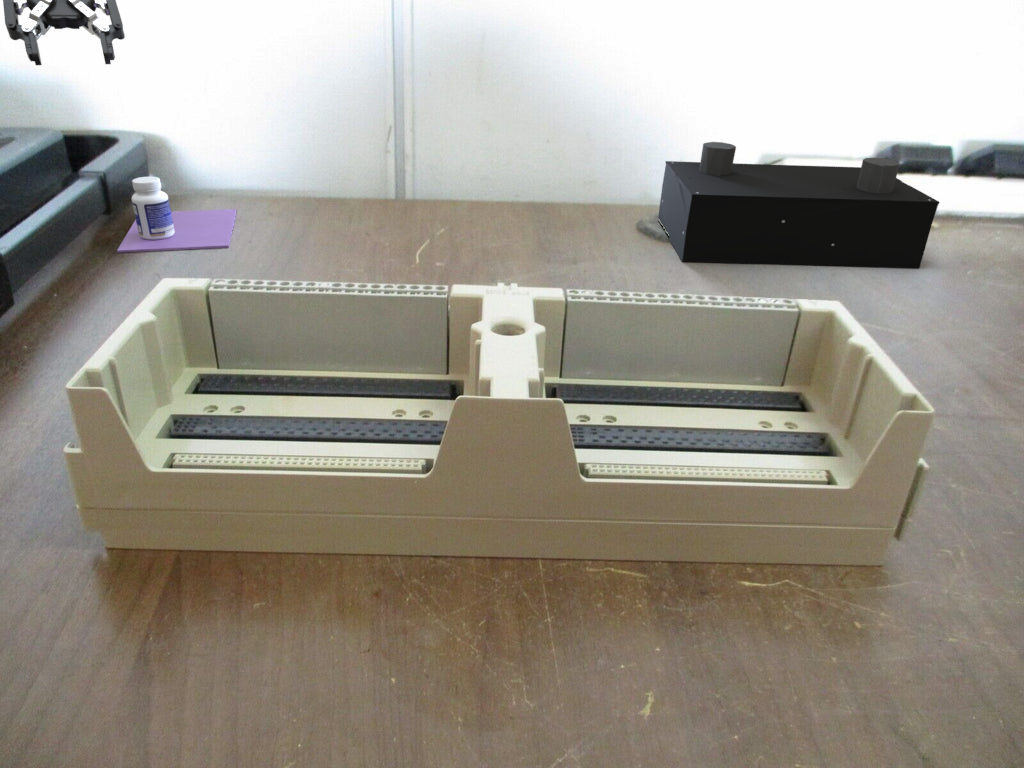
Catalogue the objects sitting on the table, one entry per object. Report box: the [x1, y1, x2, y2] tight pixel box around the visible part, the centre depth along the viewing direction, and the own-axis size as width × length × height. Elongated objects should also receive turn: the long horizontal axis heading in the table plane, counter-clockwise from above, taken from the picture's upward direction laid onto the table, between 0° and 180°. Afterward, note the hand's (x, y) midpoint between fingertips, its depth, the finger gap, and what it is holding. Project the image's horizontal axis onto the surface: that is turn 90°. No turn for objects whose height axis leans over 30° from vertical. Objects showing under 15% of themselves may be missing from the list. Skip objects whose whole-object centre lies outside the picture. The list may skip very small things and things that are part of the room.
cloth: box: [116, 208, 238, 254], centre depth 126 cm, size 16×20×1 cm
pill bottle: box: [131, 176, 175, 240], centre depth 120 cm, size 5×5×9 cm
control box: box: [657, 141, 940, 269], centre depth 128 cm, size 38×24×15 cm, turn 90°
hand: (73, 60), depth 105 cm, fingers open, 8 cm apart
